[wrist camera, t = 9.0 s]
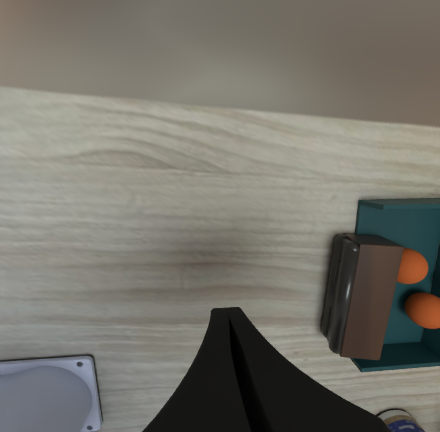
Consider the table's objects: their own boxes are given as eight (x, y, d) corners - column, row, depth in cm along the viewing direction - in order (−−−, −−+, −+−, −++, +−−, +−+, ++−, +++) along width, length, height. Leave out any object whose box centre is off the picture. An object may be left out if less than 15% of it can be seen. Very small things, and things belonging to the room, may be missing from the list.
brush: (330, 356, 20) (380, 360, 19) (349, 243, 18) (405, 246, 17) (318, 331, 23) (361, 335, 22) (333, 232, 21) (380, 235, 20)
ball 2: (414, 293, 20) (438, 283, 21) (390, 303, 22) (412, 294, 23) (442, 329, 18) (468, 318, 19) (413, 336, 21) (437, 325, 22)
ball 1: (391, 267, 22) (374, 279, 21) (395, 238, 21) (377, 249, 20) (431, 281, 20) (415, 296, 18) (438, 249, 19) (421, 262, 17)
